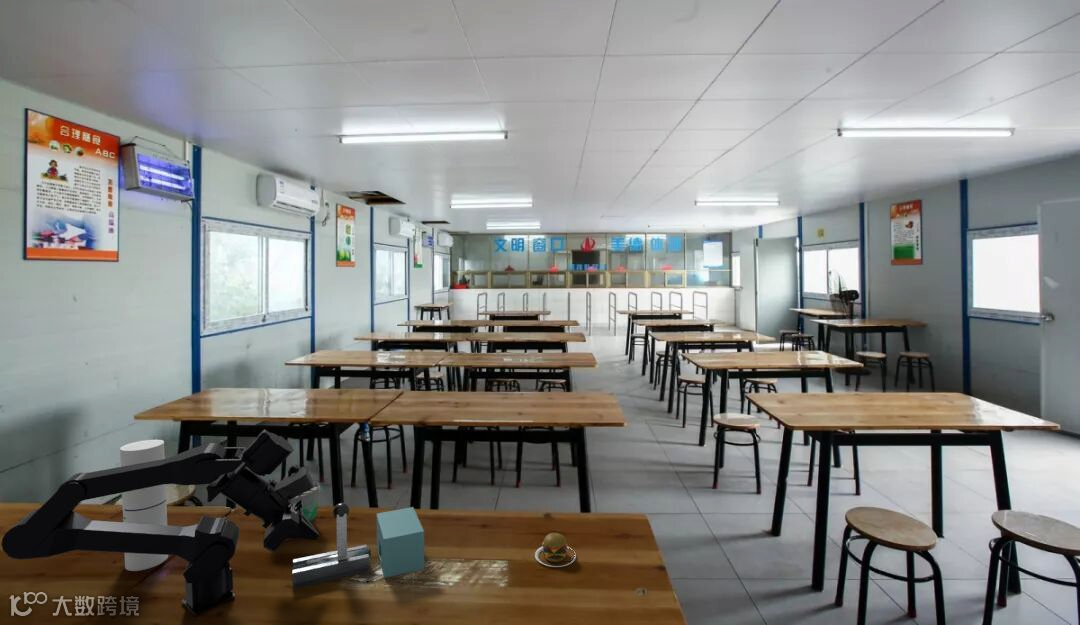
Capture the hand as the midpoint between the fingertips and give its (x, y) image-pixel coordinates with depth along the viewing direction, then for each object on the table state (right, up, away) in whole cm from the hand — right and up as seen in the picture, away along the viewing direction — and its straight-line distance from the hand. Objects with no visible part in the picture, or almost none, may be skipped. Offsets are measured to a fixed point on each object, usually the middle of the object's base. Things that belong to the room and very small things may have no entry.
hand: (317, 537), depth 98 cm
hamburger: (+48, -9, +8) cm, 49 cm away
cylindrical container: (-38, -8, +5) cm, 40 cm away
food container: (-12, -7, +17) cm, 22 cm away
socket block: (+14, -8, +7) cm, 18 cm away
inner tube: (+4, -7, +2) cm, 8 cm away
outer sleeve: (+3, -8, +2) cm, 9 cm away
